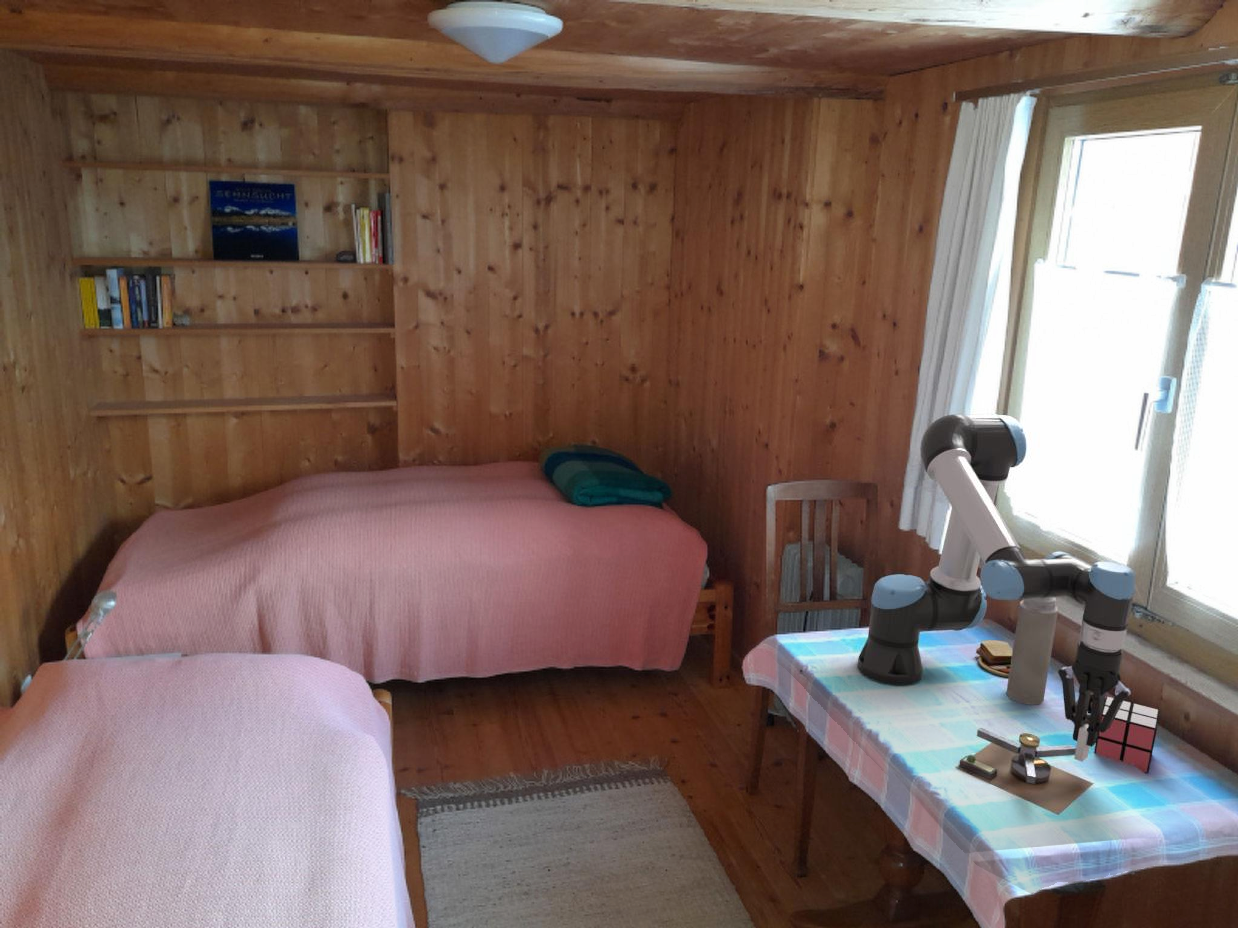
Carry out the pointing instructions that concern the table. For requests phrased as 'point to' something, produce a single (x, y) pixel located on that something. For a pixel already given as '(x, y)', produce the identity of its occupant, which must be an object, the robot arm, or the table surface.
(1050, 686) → the table surface
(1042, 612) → the thermos bottle
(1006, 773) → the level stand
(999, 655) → the toy sandwich meal
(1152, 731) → the puzzle cube
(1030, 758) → the cam capstan
